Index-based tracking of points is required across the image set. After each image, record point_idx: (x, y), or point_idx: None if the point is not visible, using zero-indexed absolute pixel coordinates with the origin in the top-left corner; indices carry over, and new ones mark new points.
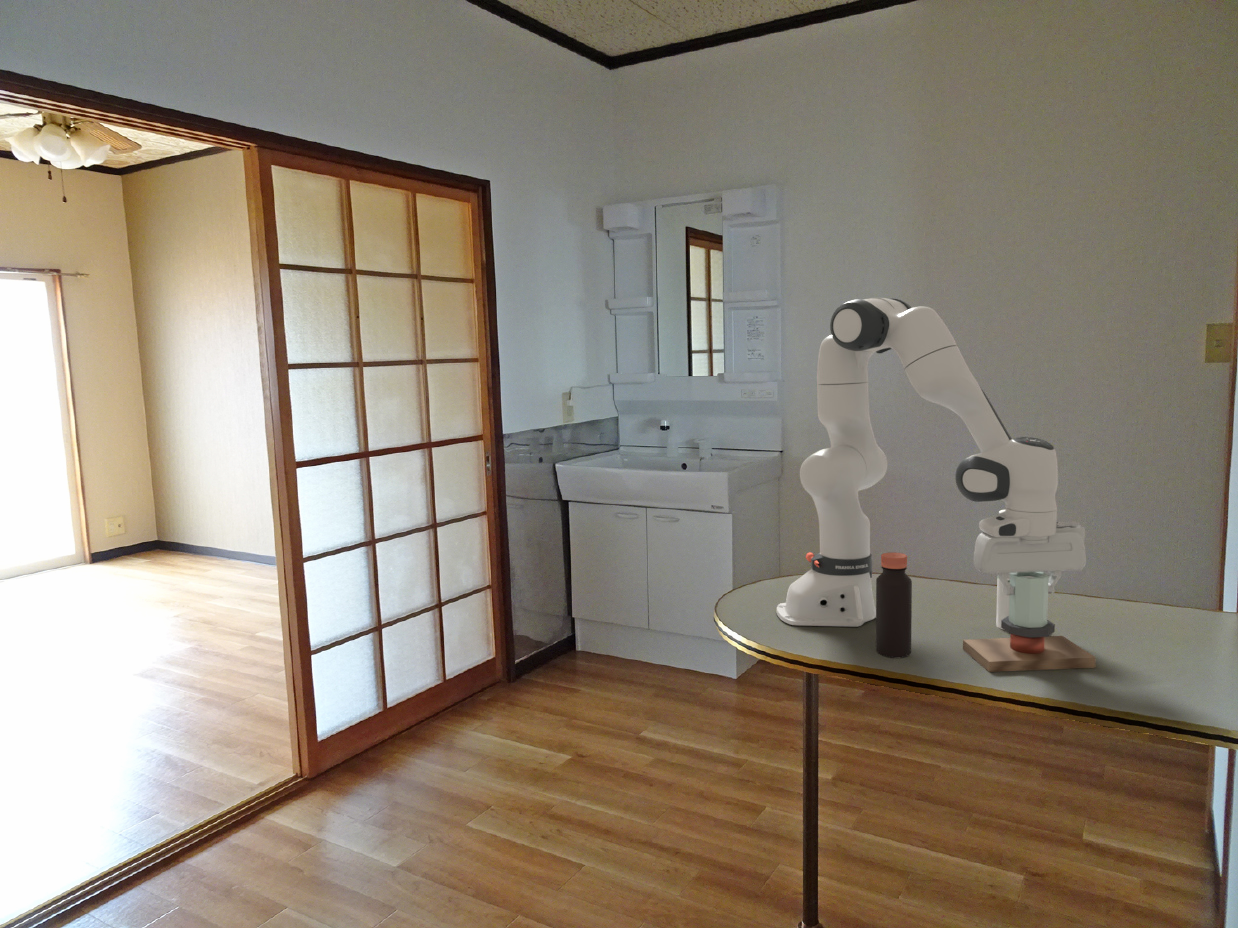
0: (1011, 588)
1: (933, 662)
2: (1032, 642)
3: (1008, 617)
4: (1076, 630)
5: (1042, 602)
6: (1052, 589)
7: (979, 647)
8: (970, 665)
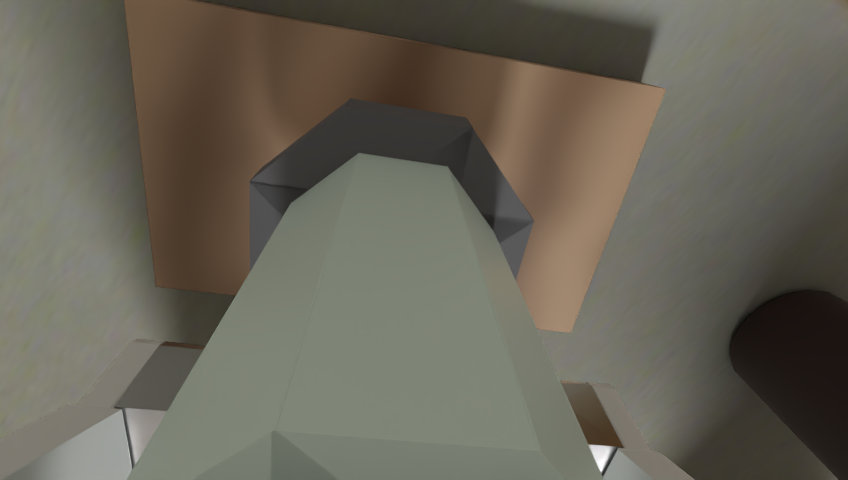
0: (598, 429)
1: (746, 227)
2: None
3: None
4: (48, 374)
5: (345, 222)
6: (139, 364)
7: (573, 250)
8: (651, 167)
